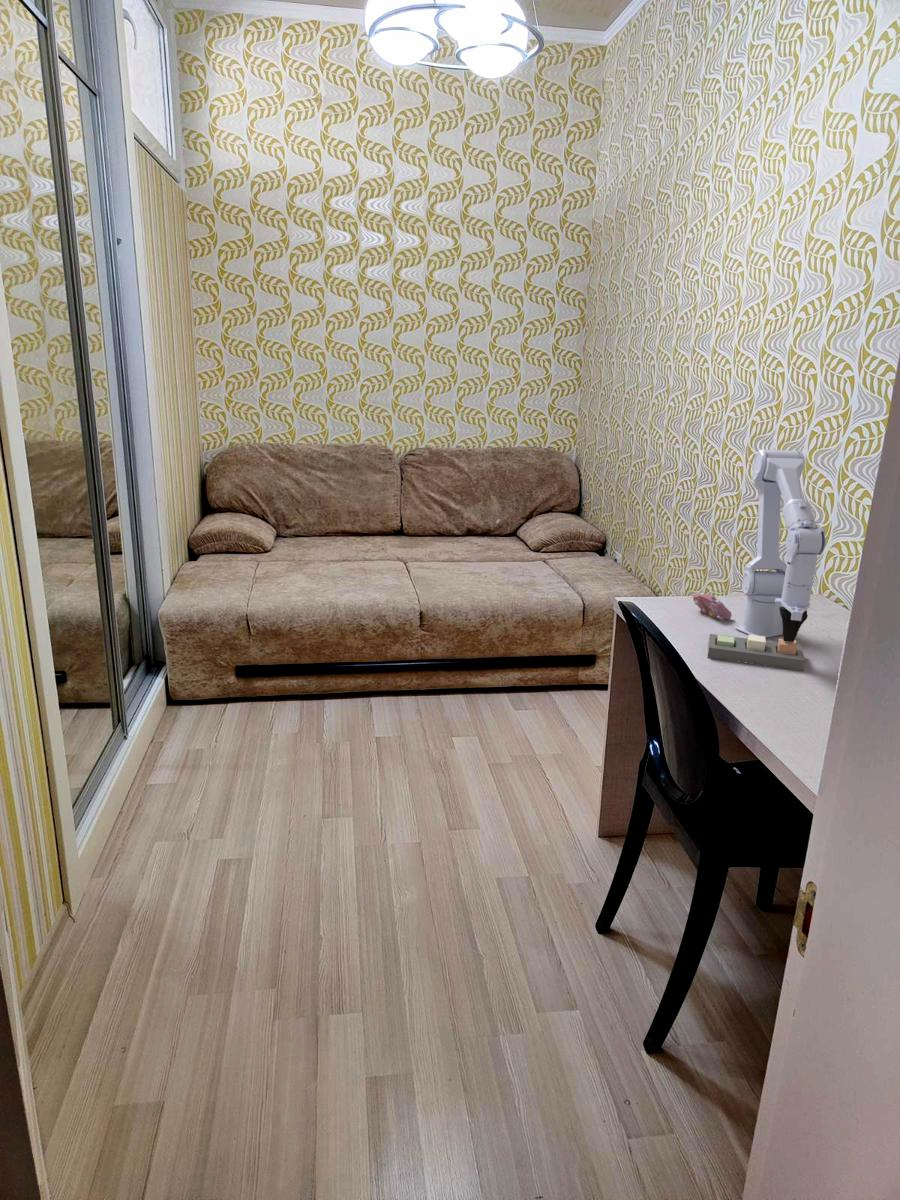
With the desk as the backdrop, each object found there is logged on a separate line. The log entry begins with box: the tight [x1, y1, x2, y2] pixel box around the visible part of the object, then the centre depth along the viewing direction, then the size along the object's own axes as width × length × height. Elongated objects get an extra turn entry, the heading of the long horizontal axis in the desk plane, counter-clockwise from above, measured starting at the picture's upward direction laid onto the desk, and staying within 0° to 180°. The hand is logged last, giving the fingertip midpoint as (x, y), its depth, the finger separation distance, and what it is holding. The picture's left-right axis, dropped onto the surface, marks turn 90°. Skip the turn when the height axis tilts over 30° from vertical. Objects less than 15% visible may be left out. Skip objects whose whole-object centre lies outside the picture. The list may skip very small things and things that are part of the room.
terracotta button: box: [777, 638, 798, 655], centre depth 178 cm, size 4×4×3 cm
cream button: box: [746, 634, 767, 651], centre depth 180 cm, size 4×4×3 cm
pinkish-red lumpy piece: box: [692, 592, 732, 621], centre depth 205 cm, size 10×5×7 cm, turn 24°
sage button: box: [716, 634, 735, 647], centre depth 182 cm, size 4×4×3 cm
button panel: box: [707, 633, 806, 672], centre depth 180 cm, size 20×9×2 cm, turn 72°
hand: (788, 640), depth 177 cm, fingers closed
